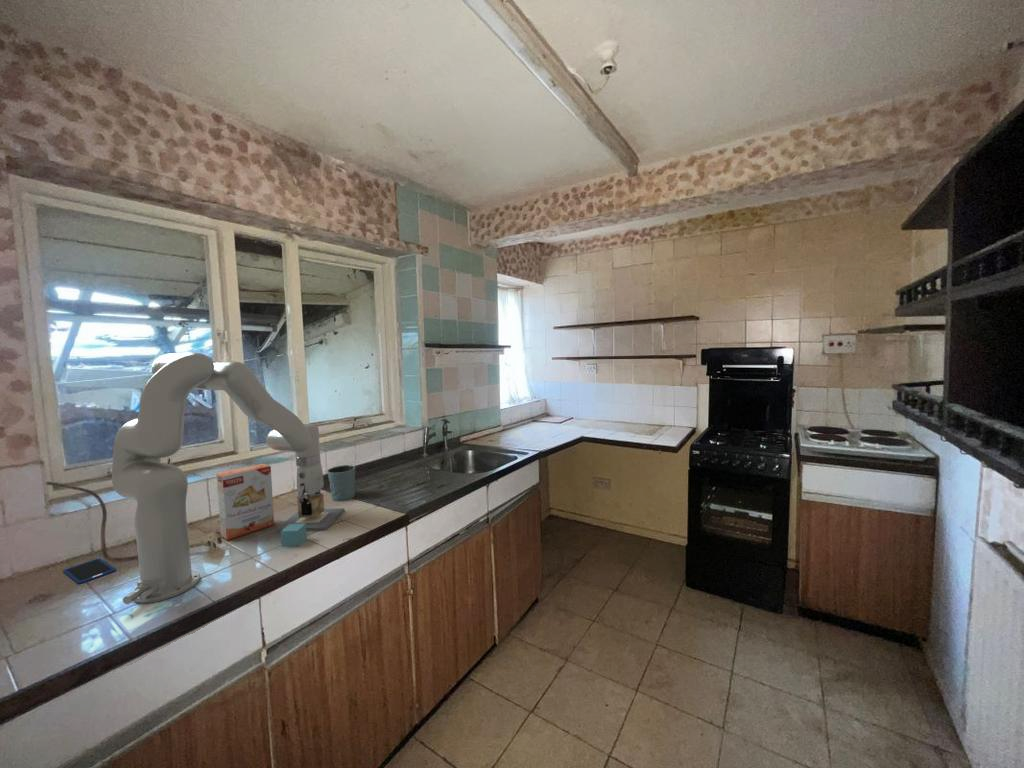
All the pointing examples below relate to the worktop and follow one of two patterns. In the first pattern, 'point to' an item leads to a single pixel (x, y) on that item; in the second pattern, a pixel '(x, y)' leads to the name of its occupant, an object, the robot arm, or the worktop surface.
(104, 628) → the worktop surface
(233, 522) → the cracker box
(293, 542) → the teal cube
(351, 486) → the blue cup
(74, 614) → the worktop surface
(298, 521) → the board
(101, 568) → the cell phone
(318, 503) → the oak cube
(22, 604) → the worktop surface
